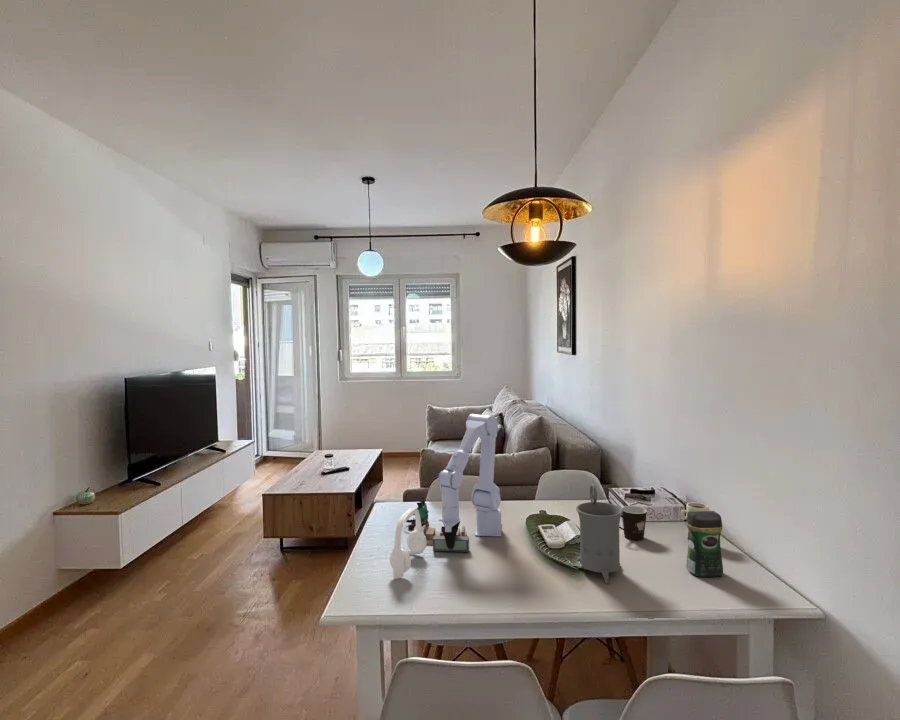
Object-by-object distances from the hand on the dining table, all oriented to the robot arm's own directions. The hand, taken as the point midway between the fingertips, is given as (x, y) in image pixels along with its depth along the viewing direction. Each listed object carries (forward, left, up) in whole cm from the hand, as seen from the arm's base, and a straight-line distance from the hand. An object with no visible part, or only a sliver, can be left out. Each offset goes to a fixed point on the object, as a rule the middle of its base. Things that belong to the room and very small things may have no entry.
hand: (451, 545), depth 178 cm
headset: (+12, +13, -2) cm, 18 cm away
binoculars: (+16, -22, -2) cm, 27 cm away
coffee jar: (-78, +10, -2) cm, 79 cm away
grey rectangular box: (0, 0, -2) cm, 2 cm away
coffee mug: (-62, -17, -2) cm, 64 cm away
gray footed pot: (-47, +11, -2) cm, 48 cm away
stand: (+4, -10, -2) cm, 11 cm away
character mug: (-84, -14, -2) cm, 85 cm away
